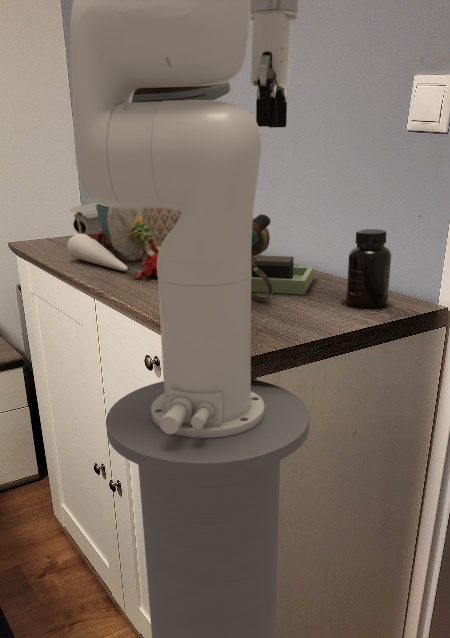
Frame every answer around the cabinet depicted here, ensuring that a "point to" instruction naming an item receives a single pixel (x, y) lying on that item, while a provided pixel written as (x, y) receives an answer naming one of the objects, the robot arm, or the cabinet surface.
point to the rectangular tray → (286, 282)
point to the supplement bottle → (369, 270)
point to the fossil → (124, 231)
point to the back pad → (274, 266)
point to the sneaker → (181, 93)
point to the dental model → (100, 238)
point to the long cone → (93, 252)
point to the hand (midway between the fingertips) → (271, 126)
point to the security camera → (86, 219)
